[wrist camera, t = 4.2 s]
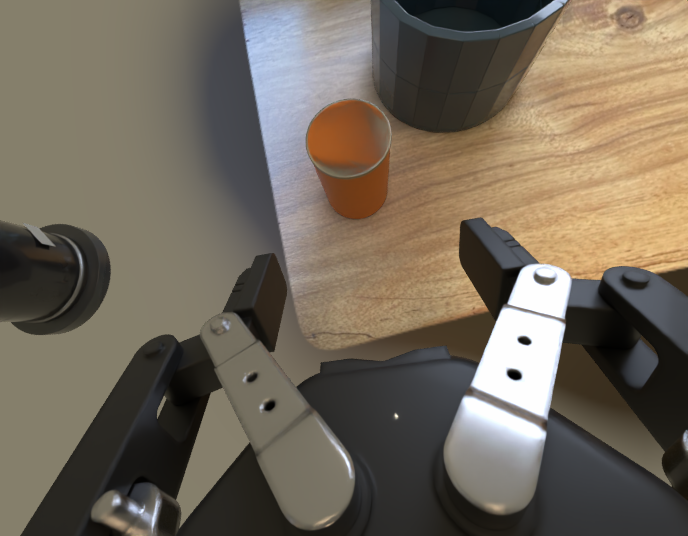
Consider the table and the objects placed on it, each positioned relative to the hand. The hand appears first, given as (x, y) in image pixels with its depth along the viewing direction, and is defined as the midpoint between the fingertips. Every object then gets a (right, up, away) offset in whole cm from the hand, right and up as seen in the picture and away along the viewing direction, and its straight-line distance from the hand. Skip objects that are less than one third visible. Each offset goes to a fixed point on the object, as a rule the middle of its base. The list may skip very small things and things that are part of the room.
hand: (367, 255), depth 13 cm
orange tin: (0, +6, +14) cm, 15 cm away
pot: (+8, +18, +15) cm, 25 cm away
